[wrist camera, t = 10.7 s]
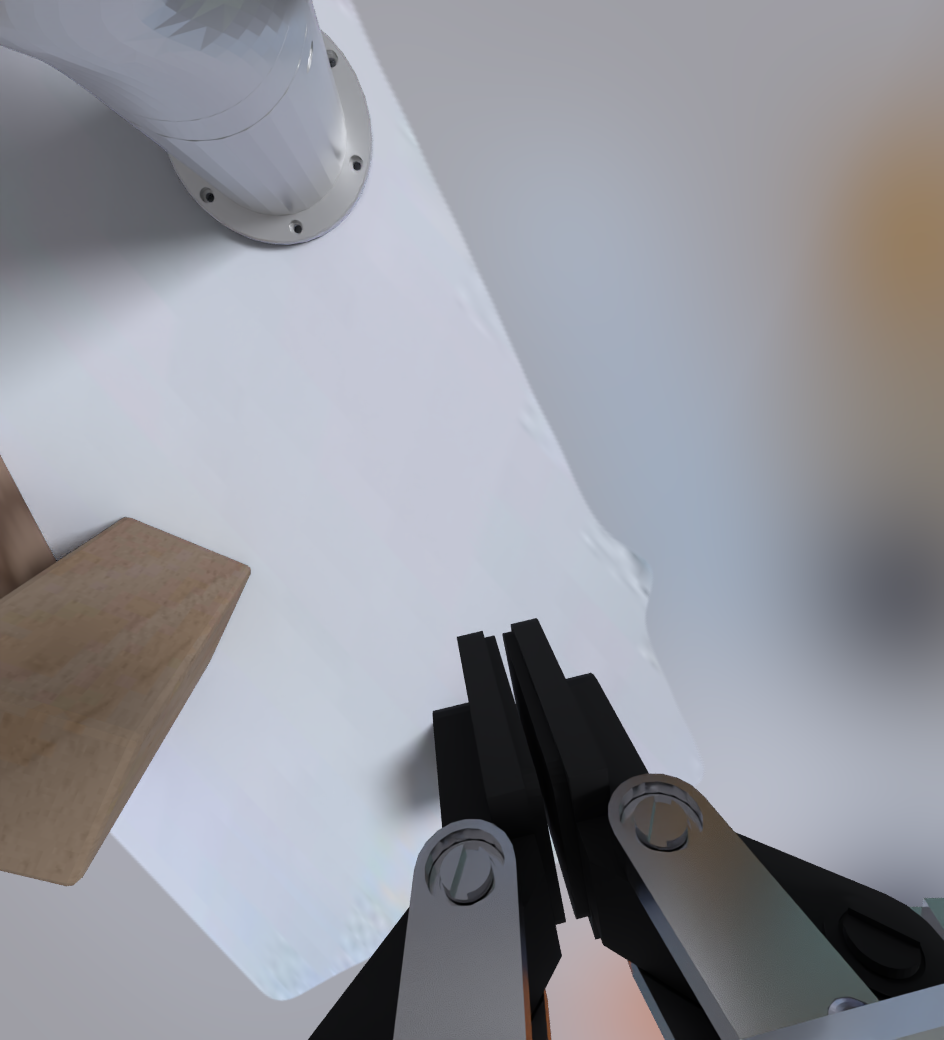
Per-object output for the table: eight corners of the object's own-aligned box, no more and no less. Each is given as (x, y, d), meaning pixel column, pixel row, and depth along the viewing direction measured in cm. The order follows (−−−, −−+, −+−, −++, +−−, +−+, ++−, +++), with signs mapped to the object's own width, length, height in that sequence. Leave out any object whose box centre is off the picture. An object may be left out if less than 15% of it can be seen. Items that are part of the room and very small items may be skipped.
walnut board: (-45, 447, 38) (-155, 475, 31) (-9, 438, 38) (-110, 464, 31) (125, 754, 48) (73, 832, 40) (154, 746, 48) (107, 824, 40)
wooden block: (84, 619, 43) (-160, 838, 25) (125, 512, 41) (-110, 665, 22) (209, 664, 46) (73, 893, 27) (254, 565, 44) (141, 742, 25)
